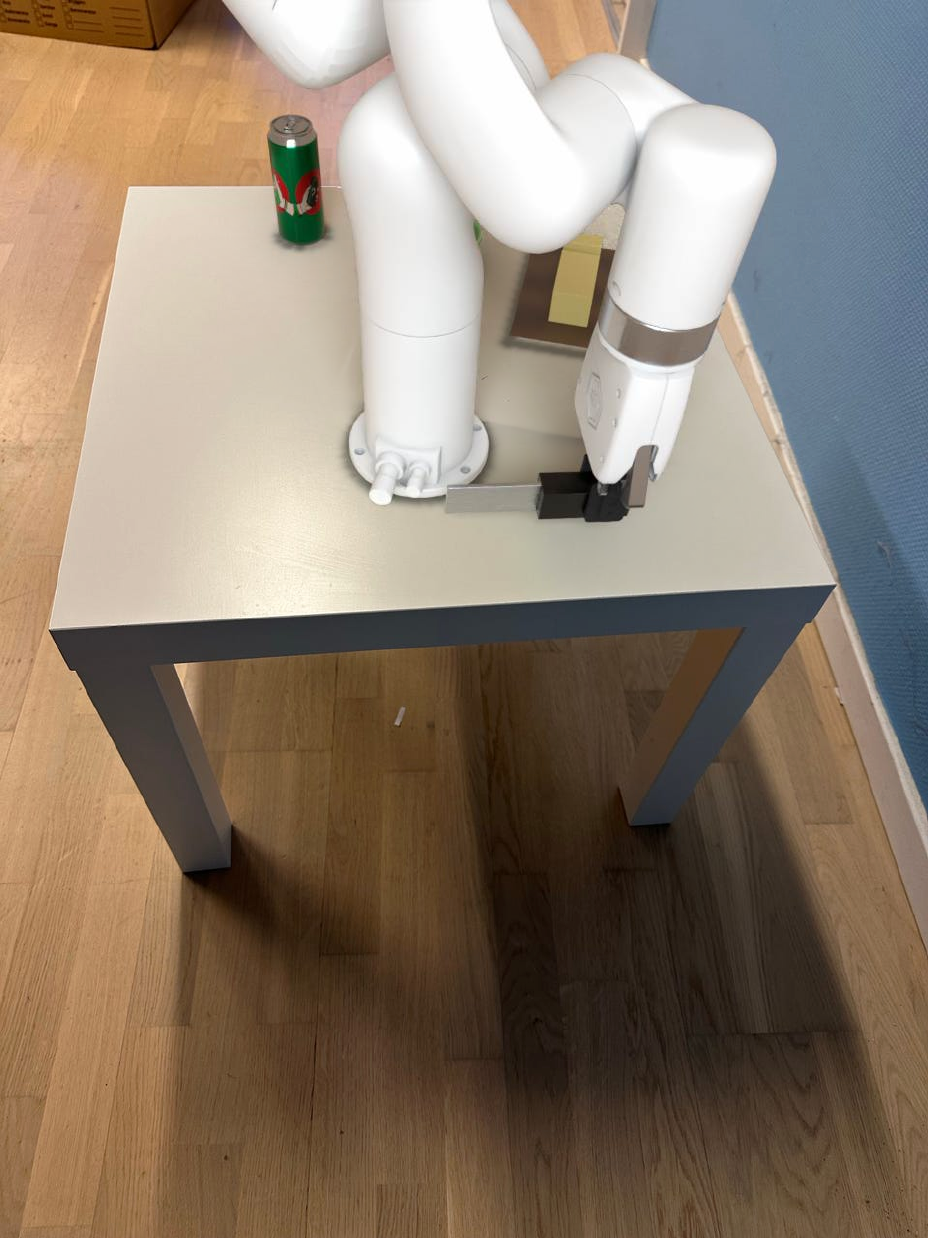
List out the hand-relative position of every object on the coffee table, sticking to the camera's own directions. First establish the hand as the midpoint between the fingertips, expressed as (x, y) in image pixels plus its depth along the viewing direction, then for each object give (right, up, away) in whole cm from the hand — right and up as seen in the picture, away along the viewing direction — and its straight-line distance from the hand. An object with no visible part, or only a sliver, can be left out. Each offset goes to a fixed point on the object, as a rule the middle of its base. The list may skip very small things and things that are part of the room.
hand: (598, 503), depth 73 cm
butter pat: (+1, +29, +24) cm, 37 cm away
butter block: (0, +24, +20) cm, 31 cm away
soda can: (-29, +33, +26) cm, 52 cm away
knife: (-5, -1, 0) cm, 5 cm away
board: (+1, +25, +22) cm, 33 cm away
